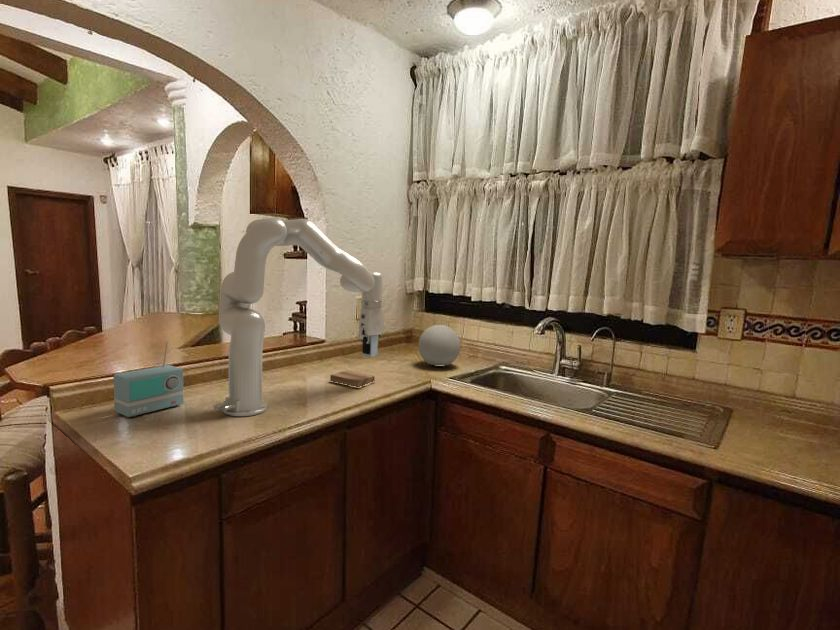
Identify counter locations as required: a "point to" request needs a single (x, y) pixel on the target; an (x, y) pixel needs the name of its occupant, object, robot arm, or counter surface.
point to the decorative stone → (439, 345)
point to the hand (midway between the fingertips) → (370, 352)
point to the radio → (148, 389)
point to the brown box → (352, 378)
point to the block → (373, 346)
